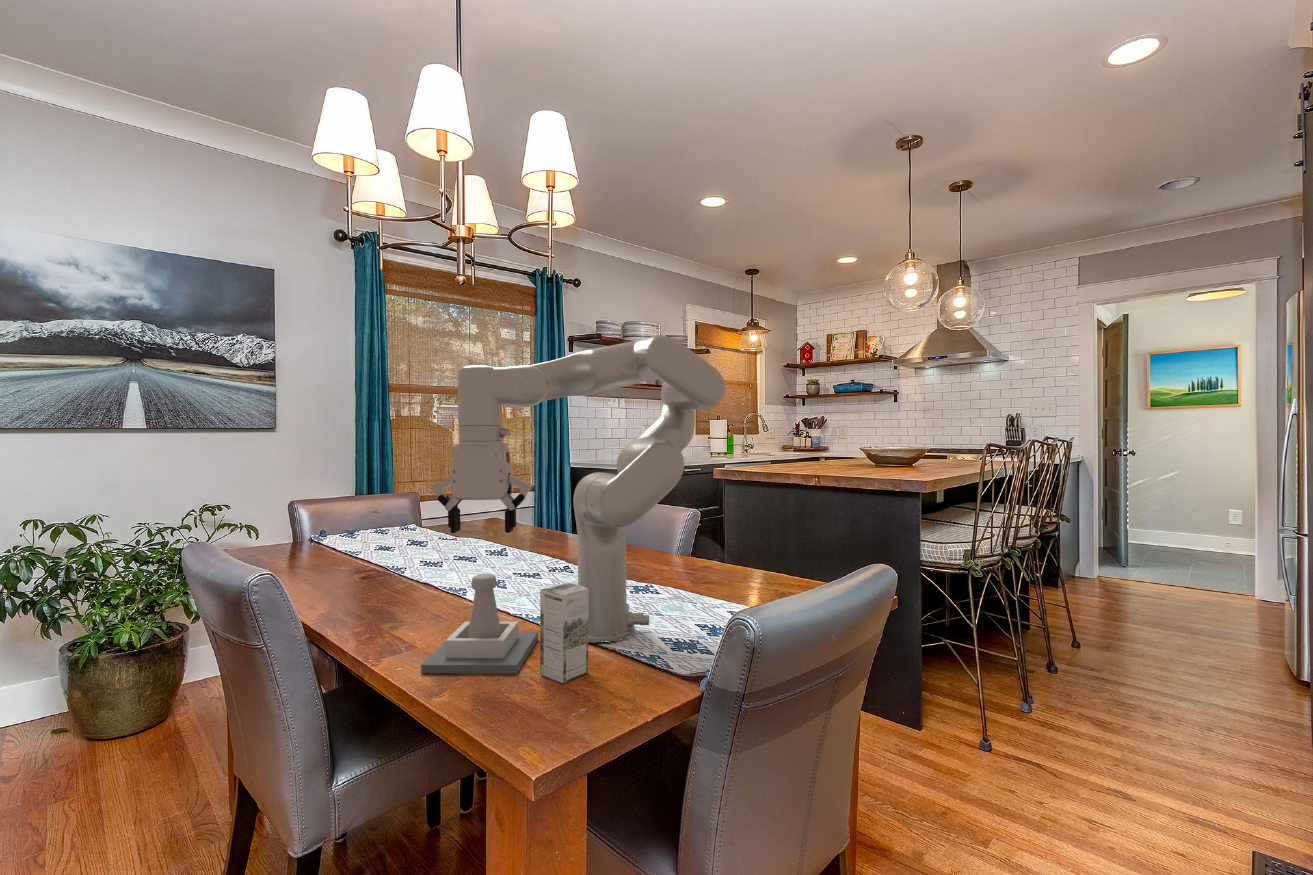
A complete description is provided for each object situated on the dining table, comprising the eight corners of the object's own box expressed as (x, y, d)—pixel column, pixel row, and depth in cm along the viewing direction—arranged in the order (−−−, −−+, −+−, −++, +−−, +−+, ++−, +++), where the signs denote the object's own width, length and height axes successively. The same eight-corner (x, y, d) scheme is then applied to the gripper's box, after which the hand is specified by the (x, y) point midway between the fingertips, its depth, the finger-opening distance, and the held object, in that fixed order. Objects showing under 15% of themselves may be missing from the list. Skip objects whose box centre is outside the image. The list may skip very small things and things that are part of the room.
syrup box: (565, 664, 105) (564, 580, 105) (589, 673, 102) (588, 586, 101) (539, 675, 101) (538, 588, 101) (564, 685, 97) (563, 594, 97)
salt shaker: (491, 654, 106) (490, 580, 106) (461, 652, 107) (460, 578, 107) (507, 642, 112) (506, 571, 112) (478, 640, 113) (477, 570, 113)
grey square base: (537, 639, 118) (537, 616, 117) (516, 674, 102) (516, 647, 101) (455, 639, 118) (454, 616, 118) (421, 673, 102) (420, 647, 102)
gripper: (534, 434, 112) (535, 527, 113) (440, 435, 113) (442, 528, 113) (524, 435, 105) (525, 535, 105) (424, 436, 105) (426, 536, 106)
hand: (482, 531), depth 109 cm, fingers open, 9 cm apart
